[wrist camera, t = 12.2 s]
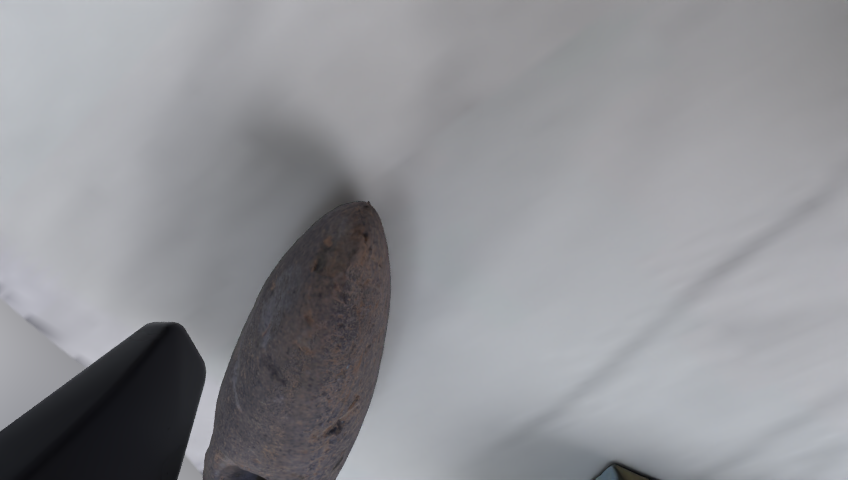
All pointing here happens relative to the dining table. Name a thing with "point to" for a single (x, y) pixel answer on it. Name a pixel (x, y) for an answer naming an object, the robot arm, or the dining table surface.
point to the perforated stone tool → (306, 356)
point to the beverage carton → (619, 474)
